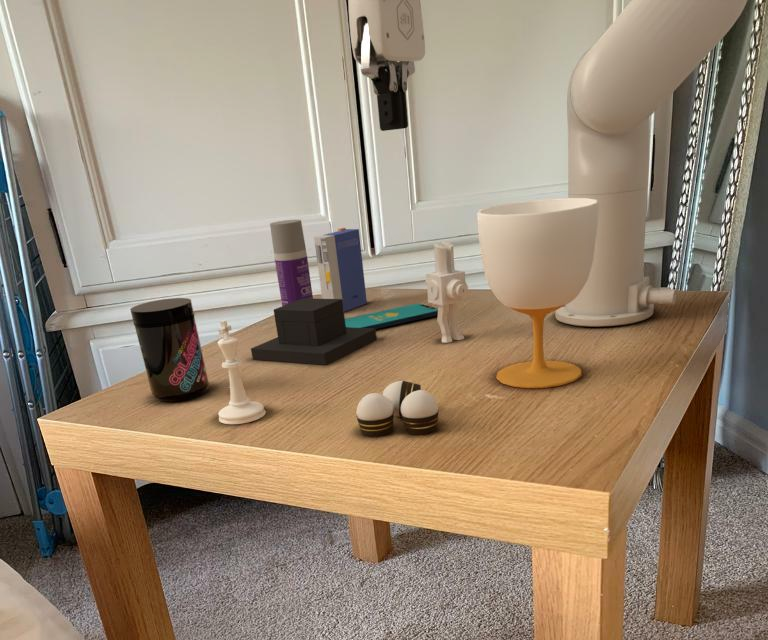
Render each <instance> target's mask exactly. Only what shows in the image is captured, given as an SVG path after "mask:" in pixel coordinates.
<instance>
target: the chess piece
mask: <svg viewBox="0 0 768 640" xmlns="http://www.w3.org/2000/svg"><path fill="white" fill-rule="evenodd" d="M220 327H221V328H218V334H219V335H222V338H220V339H219V340H218V341H217V346H218V348H219V349H220V351H221V352H222V355H223V357H224V358H225V361H223V362H222V363H221V368H223V369H228V371H227V372H228V379H229V380H228V381H229V390H230V391H229V392H230V393H229V394H230V400H229V401H228V405H226V406H224V407H223V408H221V409H220V410H219V411H218V421H219V422H220V423H222V424H225V425H241V424H242V425H243V424H247V423H251V422H254V421H257V420H259V419H262V418H263V417H264V416H265V415H266V413H267V412H266V410H265V406H264V404H263V403H261V402H258V401H252V400H251V398H250V397H248V396H247V393H246V390H245V387H244V384H243V382H242V379H241V376H240V375H241V374H240V373H239V367H241V366H242V365H243V364H244V363H243V361H242V360H241V359H238V358H237V349H238V343H239V342H238V338H236V337H232V336H230V331H232V325H231V324H228V321H227V320H221V321H220Z"/></svg>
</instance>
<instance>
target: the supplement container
mask: <svg viewBox="0 0 768 640" xmlns="http://www.w3.org/2000/svg"><path fill="white" fill-rule="evenodd" d="M130 314H131V317H132V321H133V322H132V323H133V326H134V329H135V333H136V337H137V341H138V344H139V348H140V353H141V356H142V360H143V364H144V369H145V372H146V376H147V380H148V384H149V388H150V393H151V396H153V398H154V399H156V400H157V401H159V402H162V403H163V402H164V403H176V402H183V401H188V400H192V399H195V398H198V397H200V396H202V395H203V394H206V392H207V391H208V389H209V386H210V382H209V377H208V373H207V368H206V364H205V359H204V355H203V349H202V345H201V339H200V336H199V331H198V326H197V322H196V317H195V316H196V315H195V311H194V307H193V302H192V299H191V298H188V297H187V298H186V297H173V298H171V297H170V298H165V299H164V298H163V299H155V300H151V301H147V302H144V303H140V304H137V305H134V306H132V307H130Z"/></svg>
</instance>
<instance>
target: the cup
mask: <svg viewBox="0 0 768 640" xmlns="http://www.w3.org/2000/svg"><path fill="white" fill-rule="evenodd" d="M598 208H599V203H598V201H597V200H595V199H589V198H568V197H563V198H561V197H560V198H545V199H534V200H524V201H517V202H508V203H503V204H497V205H492V206H489V207H484V208H482V209H479V210H478V212H477V214H476V219H477V231H478V242H479V249H480V255H481V261H482V268H483V272H484V275H485V278H486V281H487V285H488V287H489V289H490V290H491V292H492V293H493V295H494V297H496V299H497V301H499V302H500V303H501V304H502V305H504V306H505V307H507V308H509V309H512V310H513V311H516V312H518V313H520V314H524V315H527V316H529V317H530V318H531V320H532V335H533V353H532V360H530V361H522V362H518V363H517V362H516V363H514V364H511V365H507V366H504V367H503V368H502V369H500V370H499V371H497V373H496V377H495V378H496V379H497V381H499V382H500V383H501V384H502V385H505V386H509V387H512V388H520V389H549V388H554V387H560V386H561V387H562V386H565V385H567V384H571V383H573V382H575V381H577V380H578V379H579V378H580V377H582V368H580V367H579V366H577V365H576V364H574V363H570V362H566V361H561V360H560V361H559V360H550V359H549V360H547V359H546V360H545V355H544V354H545V353H544V322H545V317H546V316H547V315H548V314H551V313H553V312H555V311H556V310H557V309H559V308H561V307H562V306H564V305H566V304H568V303H570V302H571V301H573V300H574V299H575V298H576V297H577V296H578V295H579V293H580V292H581V290H582V288H583V287H584V285H585V283H586V282H587V280H588V277H589V273H590V270H591V266H592V263H593V256H594V249H595V242H596V235H597V223H598Z"/></svg>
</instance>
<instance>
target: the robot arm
mask: <svg viewBox="0 0 768 640" xmlns="http://www.w3.org/2000/svg"><path fill="white" fill-rule="evenodd" d="M347 3H348V4H347V5H348V21H349V33H350V34H349V35H350V43H351V48H352V54H353V58H354V60H355V61H356V62H357V63H358V64H360V72H361V75H362V76H364V77H366V78H368V79H370V80H371V82H372V87H373V92H374V94H375V95H376V101H377V111H378V122H379V130H380V131H382V132H386V131H394V130H403V129H408V127H409V118H408V105H407V104H408V103H407V91H408V78H409V77H410V76H412V75H413V74H415V72H416V69H415V68H416V67H415V62H420V61H422V60H423V59H424V57H425V55H426V43H425V32H424V30H425V29H424V21H423V12H422V7H421V0H347ZM747 3H748V0H630V1H629V3H628V4H627V5H626V7H624V8H623V10H622V11H621V12H620V13H619V15H618V16H617V17H616V18H615V19H614V21H613V22H612V23H611V24H610V25H609V27H608V28H607V29H606V31H605V32H603V34H602V35H601V36H600V37H599V38H598V40H597V41H596V42H595V43H593V45H592V46H590V48H588V49H587V50H586V51H585V52H584V53H583V54H582V56H581V57H580V58H579V59H578V61H577V62H576V64H575V65H574V67H573V69H572V71H571V75H570V77H569V80H568V85H567V93H566V119H567V121H566V122H567V151H568V153H567V154H568V155H567V157H568V158H567V159H568V161H567V162H568V166H567V168H568V169H567V171H568V174H567V175H568V177H567V180H568V181H567V184H568V185H567V186H568V187H567V188H568V189H567V198H589V199H595V200H597V201H598V203H599V208H598V223H597V235H596V242H595V249H594V256H593V263H592V266H591V270H590V273H589V277H588V280H587V282H586V283H585V285H584V287H583V288H582V290H581V292H580V293H579V295H578V296H577V297H576V298H575V299H574V300H573V301H571V302H570V303H568V304H566V305H564V306H562V307H561V308H559V309H557V310H556V311H554V315H555V316H554V318H555V319H556V321H559V322H560V323H561V324H562V323H563V324H567V325H571V326H578V327H592V328H593V327H595V328H596V327H597V328H598V327H614V326H615V327H616V326H625V325H629V324H635V323H638V322H643V321H644V320H647V319H649V318H650V317H652V316H653V314H654V308H655V306H654V305H659V306H675V304H676V301H677V296H678V295H677V289H676V288H675V289H674V288H672V287H670V286H669V287H668V286H667V287H665V286H664V287H662V286H661V287H653V285H650V276H644V263H645V246H646V245H645V241H646V227H647V226H646V225H647V224H646V222H647V204H648V203H647V202H648V188H649V174H650V173H649V171H650V117H651V116H652V115H653V114H655V112H656V111H657V110H658V109H659V108H660V107H661V106H662V105H663V104H664V103H665V101H667V99H669V98H670V96H671V95H673V93H674V92H676V90H677V89H678V87H680V85H681V84H682V83H683V82H684V81H685V80H686V79H687V78H688V77H689V75H691V73H692V72H693V71H695V69H696V68H697V67H698V66H699V65H700V63H701V62H702V61H704V59H705V58H707V56H708V55H709V54H710V53H711V52H712V50H713V49H715V47H716V46H717V45H718V44H719V43H720V42H721V41H722V39H723V38H724V37H725V36H726V35H727V34H728V32H729V31H730V30H731V28H733V26H734V25H735V23H736V22H737V20H738V19H739V18H740V16H741V14H742V13H743V11H744V9H745V7H746V5H747Z"/></svg>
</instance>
